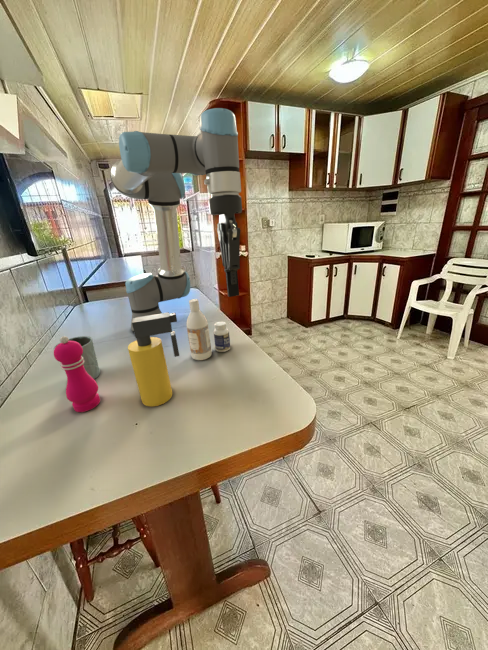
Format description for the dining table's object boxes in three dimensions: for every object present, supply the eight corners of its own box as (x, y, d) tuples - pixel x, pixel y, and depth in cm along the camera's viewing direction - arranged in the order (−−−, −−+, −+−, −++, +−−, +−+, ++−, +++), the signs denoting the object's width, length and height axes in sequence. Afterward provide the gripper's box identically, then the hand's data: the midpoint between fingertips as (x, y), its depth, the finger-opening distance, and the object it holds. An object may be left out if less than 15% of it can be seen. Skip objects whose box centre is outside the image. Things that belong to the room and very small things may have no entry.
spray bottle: (142, 391, 75) (122, 316, 66) (187, 381, 78) (174, 308, 69) (141, 409, 67) (119, 328, 59) (191, 397, 71) (176, 318, 62)
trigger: (174, 351, 71) (170, 331, 68) (178, 351, 71) (174, 330, 69) (174, 356, 68) (170, 335, 66) (179, 355, 68) (175, 334, 66)
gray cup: (104, 365, 90) (94, 333, 86) (100, 381, 81) (89, 346, 77) (70, 373, 87) (58, 340, 83) (63, 390, 78) (48, 354, 74)
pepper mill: (68, 416, 67) (39, 345, 59) (76, 399, 73) (51, 333, 66) (99, 409, 69) (75, 339, 61) (104, 393, 75) (83, 328, 68)
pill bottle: (227, 353, 92) (224, 327, 89) (213, 351, 94) (209, 326, 90) (232, 346, 97) (230, 321, 93) (219, 344, 99) (216, 320, 95)
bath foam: (187, 358, 91) (177, 302, 83) (200, 349, 96) (192, 296, 89) (203, 362, 87) (195, 304, 80) (215, 353, 93) (208, 298, 85)
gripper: (203, 198, 65) (214, 291, 74) (214, 193, 54) (225, 304, 63) (233, 196, 67) (240, 288, 76) (249, 191, 56) (255, 299, 65)
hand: (233, 295), depth 69 cm, fingers closed
